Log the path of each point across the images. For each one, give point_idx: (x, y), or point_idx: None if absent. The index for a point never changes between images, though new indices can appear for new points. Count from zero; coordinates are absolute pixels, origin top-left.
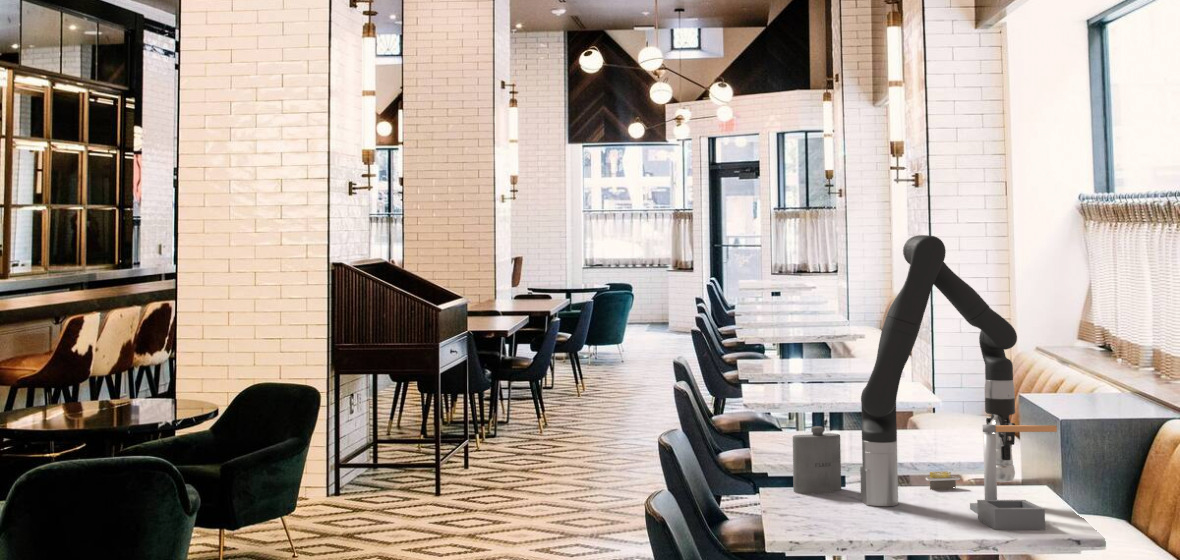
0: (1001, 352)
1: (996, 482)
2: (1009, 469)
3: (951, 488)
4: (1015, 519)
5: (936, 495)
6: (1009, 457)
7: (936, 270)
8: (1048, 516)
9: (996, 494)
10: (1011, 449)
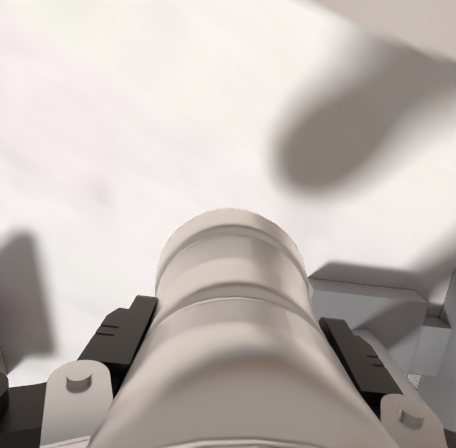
0: None
1: (425, 403)
2: (308, 284)
3: None
4: None
5: (30, 364)
6: (362, 343)
7: None
8: (433, 158)
9: (398, 366)
10: (306, 318)
